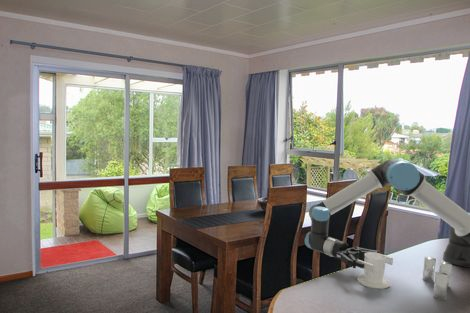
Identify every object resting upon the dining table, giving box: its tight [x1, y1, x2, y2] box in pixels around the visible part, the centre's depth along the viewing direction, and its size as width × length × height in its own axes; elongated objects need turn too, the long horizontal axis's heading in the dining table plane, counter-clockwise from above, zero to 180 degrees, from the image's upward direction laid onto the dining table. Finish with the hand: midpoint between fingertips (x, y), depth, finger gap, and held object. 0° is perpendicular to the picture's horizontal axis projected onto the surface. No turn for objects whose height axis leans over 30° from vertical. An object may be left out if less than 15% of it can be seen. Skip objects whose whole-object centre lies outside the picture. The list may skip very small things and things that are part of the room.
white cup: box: [363, 252, 387, 284], centre depth 148 cm, size 8×8×10 cm
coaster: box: [356, 274, 391, 290], centre depth 149 cm, size 12×12×1 cm
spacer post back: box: [438, 260, 453, 289], centre depth 148 cm, size 4×4×9 cm
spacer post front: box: [432, 271, 448, 302], centre depth 137 cm, size 4×4×9 cm
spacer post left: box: [422, 256, 437, 283], centre depth 152 cm, size 4×4×9 cm
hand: (382, 264), depth 145 cm, fingers open, 13 cm apart
